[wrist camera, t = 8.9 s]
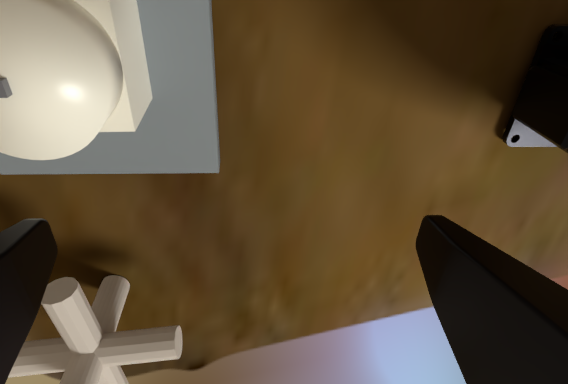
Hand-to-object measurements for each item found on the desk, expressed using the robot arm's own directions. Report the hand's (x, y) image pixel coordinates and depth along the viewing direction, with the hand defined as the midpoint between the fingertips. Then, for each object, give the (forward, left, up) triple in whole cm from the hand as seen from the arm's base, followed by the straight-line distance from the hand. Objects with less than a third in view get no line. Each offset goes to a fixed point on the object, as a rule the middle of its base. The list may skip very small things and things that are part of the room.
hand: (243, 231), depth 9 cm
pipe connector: (+9, +14, -12) cm, 21 cm away
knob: (+7, -2, -11) cm, 13 cm away
